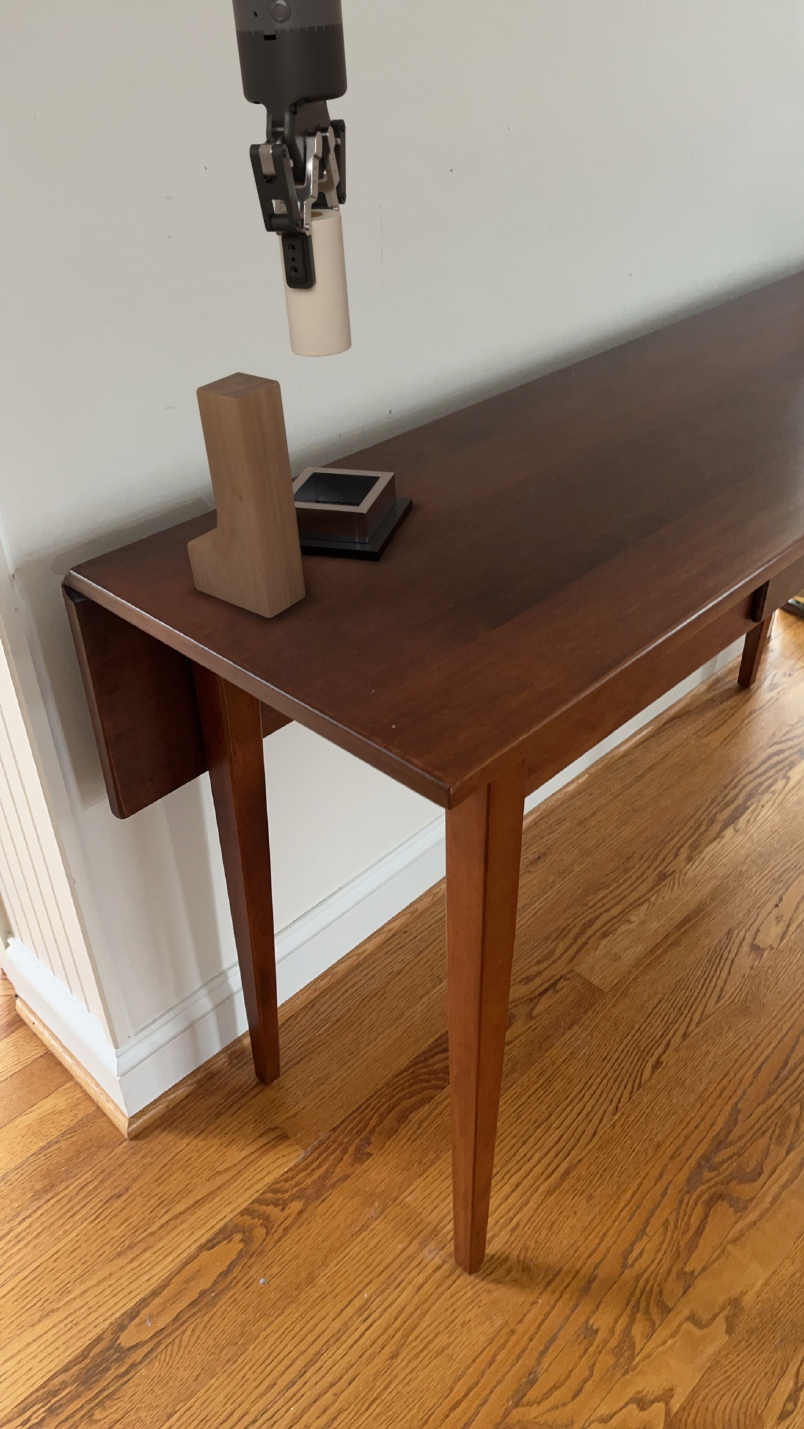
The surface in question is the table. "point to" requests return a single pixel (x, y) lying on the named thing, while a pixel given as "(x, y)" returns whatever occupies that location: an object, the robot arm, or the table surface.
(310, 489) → the stand
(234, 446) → the wooden block
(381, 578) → the table surface
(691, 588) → the table surface
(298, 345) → the paper roll
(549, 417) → the table surface
